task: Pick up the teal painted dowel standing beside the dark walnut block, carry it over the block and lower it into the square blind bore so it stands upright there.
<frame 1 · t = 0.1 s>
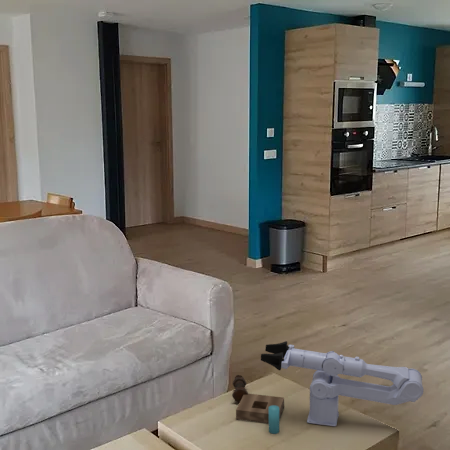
hand: (263, 352, 197), 22 cm above the table, tool horizontal, fingers open, 7 cm apart
pin: (273, 431, 190), on the table
bolt: (240, 393, 214), on the table, touching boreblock
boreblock: (260, 413, 201), on the table
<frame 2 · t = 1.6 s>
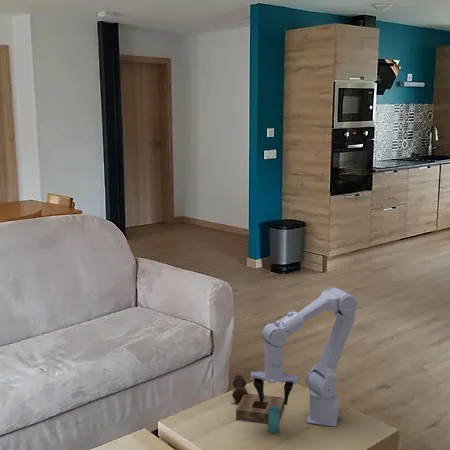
hand: (273, 402, 188), 10 cm above the table, tool pointing down, fingers open, 7 cm apart
nothing on the table moved.
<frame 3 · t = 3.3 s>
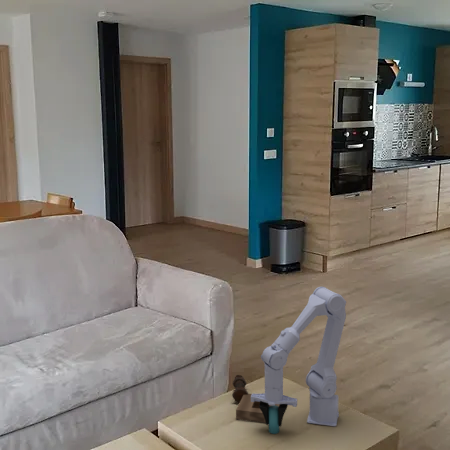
hand: (273, 424, 189), 2 cm above the table, tool pointing down, fingers closed on pin, 3 cm apart
pin: (273, 431, 190), on the table, touching gripper
everything else where it was.
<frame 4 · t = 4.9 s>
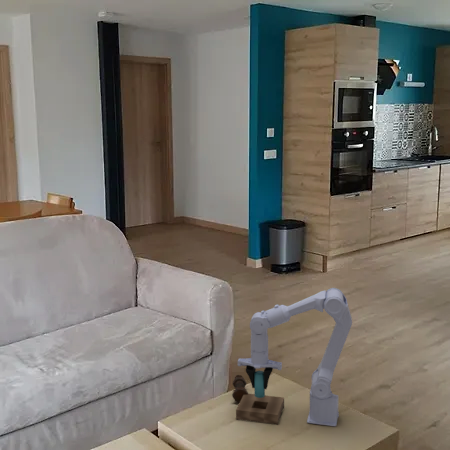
hand: (259, 387, 198), 10 cm above the table, tool pointing down, fingers closed on pin, 3 cm apart
pin: (259, 395, 198), point 7 cm above the table, touching gripper
everything else where it was.
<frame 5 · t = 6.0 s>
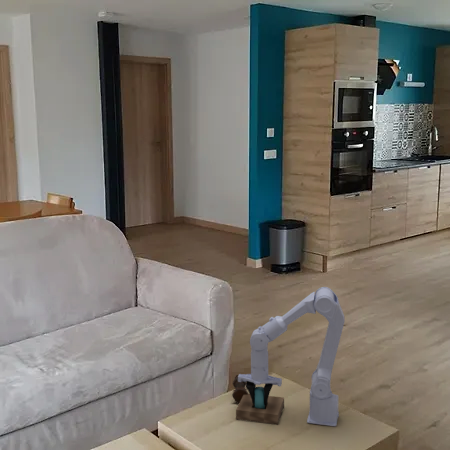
hand: (259, 403, 199), 4 cm above the table, tool pointing down, fingers closed on pin, 3 cm apart
pin: (259, 410, 199), point 2 cm above the table, touching gripper
everything else where it was.
when the fingers open (4 cm above the table, at t = 6.7 s): pin stays where it is, resting on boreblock.
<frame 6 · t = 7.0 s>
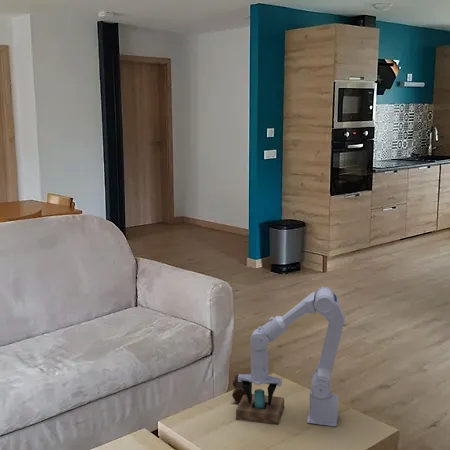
hand: (259, 403, 199), 4 cm above the table, tool pointing down, fingers open, 6 cm apart
pin: (259, 413, 199), point 1 cm above the table, touching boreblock
everything else where it was.
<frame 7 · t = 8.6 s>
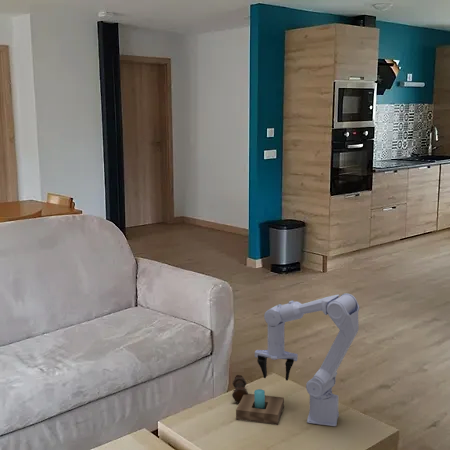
hand: (276, 378, 204), 10 cm above the table, tool pointing down, fingers open, 7 cm apart
nothing on the table moved.
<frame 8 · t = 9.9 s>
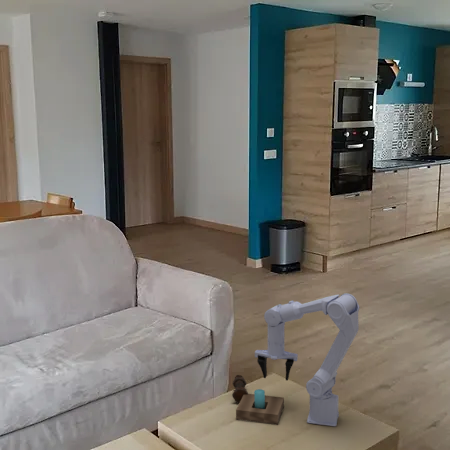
hand: (276, 378, 204), 10 cm above the table, tool pointing down, fingers open, 7 cm apart
nothing on the table moved.
at the end: pin 0.3 cm from the target spot on the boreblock, point 0.5 cm above the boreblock's base; pin tilted 0°; the gripper is holding nothing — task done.
